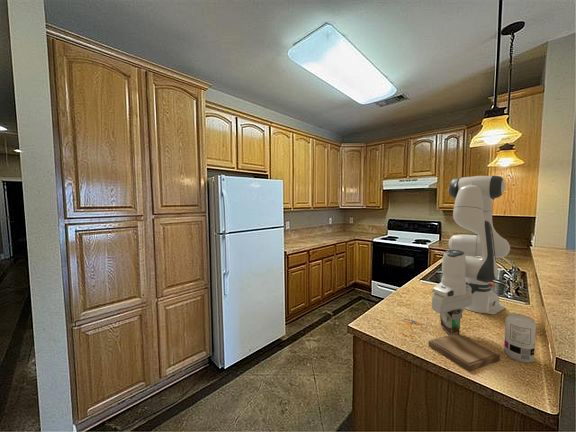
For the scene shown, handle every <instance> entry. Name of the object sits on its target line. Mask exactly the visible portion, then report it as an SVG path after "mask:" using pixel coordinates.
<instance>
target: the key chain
mask: <svg viewBox="0 0 576 432" xmlns="http://www.w3.org/2000/svg"><path fill="white" fill-rule="evenodd" d="M405 320H408V322H407V321H405ZM402 322H406V323H405V325H406V326H408V327H412V326H413V325H412V324H414V325H419V326H421V329H422V330H424V331H425V332H428V333H430V331H429V330H428V329H427V327H425V326H427V323H426V324H425V323H422V322H420V321H416V320H411V319H410V318H403V319H402ZM423 325H424V326H423Z"/></svg>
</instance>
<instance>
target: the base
mask: <svg viewBox="0 0 576 432" xmlns="http://www.w3.org/2000/svg"><path fill="white" fill-rule="evenodd" d="M428 347H430V348H432V349H433V350H434V351H436V352H438V353H440V354H441V355H442V356H444V357H445V358H447V359H448V360H450V361H451V362H454V363H455V364H457V365H458V366H460V367H461V368H463V369H465V370H466V371H468V372H472V371H474V370H477V369H480V368H483V367H486V366H488V365H491V364H494V363H497V362H500V361H501V355H500V354H498V353H497V352H494V351H493V350H491V349H488V348H487V347H486V346H485V347H484V346H482V345H480V344H479V343H477V342H475V341H473V340H471V339H469V338H467V337H465V336H463V335H461V334H460V333H459V334H458V333H455V334H452V335H449V334H448V335H444V336H442V337H437V338H434V339H430V340H428Z"/></svg>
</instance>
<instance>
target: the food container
mask: <svg viewBox="0 0 576 432" xmlns="http://www.w3.org/2000/svg"><path fill="white" fill-rule="evenodd" d="M447 316H448V317H449V320H448V321H444V320H443V316H442V314H440V313H439V318H440V320H439V321H440V326H441V328H443V329H444V331H446V333H448V335H452V334H455V333H458V334H460V332H461V330H460V329H461V319H462V318H463V313H462V312H461V310H460V309H457V310H453V311H449V312H447Z"/></svg>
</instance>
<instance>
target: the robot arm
mask: <svg viewBox="0 0 576 432" xmlns="http://www.w3.org/2000/svg"><path fill="white" fill-rule="evenodd" d="M505 191H506V182H505V180H504V178H503V177H502V176H499V175H475V176H465V177H455V178H452V180H451V181H449V185H448V193H449V195H450V196H451V197H452V198H453V199H455V200H454V203H453V204H454V205H453V211H452V219H453V220H454V222H455V223H456V225H458V226H459V227H461V228H463V229H464V230H467V231H470V232H473V233H474V234H476V235H474V234H463V233H462V234H454V235H452V236H450V238H449V240H448V244H447V245H448V248H449V249H447V250H445V251H444V252H443V256H442V260H441V261H442V262H441V272H442V277H441V281H440V282H439V283H438V284H436V285H435V286H433V287H432V293H433V295H432V297H431V308H432V310H433V311H434V312H435V313H438V314H439V315H440V314H442V316H443V320H444V321H448V320H449V317H448V316H447V312H449V311H453V310H457V309H460V310H461V312H462V314H464V313H463V312H464V310H467V311H470V312H475V313H478V314H479V313H480V314H488V315H496V314H498V313H500V312H502V311H503V310H505V309H506V306H505V305H504V304H502V303H500V297H499V295H498V294H496V293H495V292H494V291H493V290H492V288H494V287H495V283H494V282H493V281H495V280H497V279H498V275H499V268H498V264H497V258H500V259H502V258H505V257H507V256H508V254H510V251H511V245H510V243H509V242H508V240H507V239H506V238H504V237H502V236H501V235H500V234H499V233H498V232H497V231H496V229H495V228H494V225H493V201H494V200H495V199H498V198H500V197H501V196H503V194H504V192H505Z"/></svg>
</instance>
